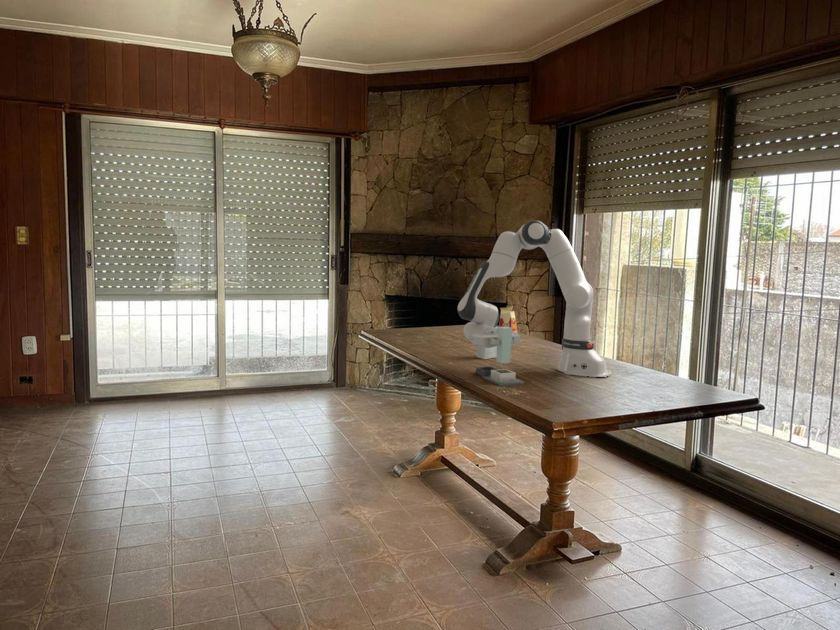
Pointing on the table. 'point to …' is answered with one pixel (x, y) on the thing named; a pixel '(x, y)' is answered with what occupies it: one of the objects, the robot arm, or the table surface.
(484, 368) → the holster
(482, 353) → the skincare box
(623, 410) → the table surface
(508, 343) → the plug
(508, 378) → the port panel
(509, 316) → the milk carton
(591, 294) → the robot arm
